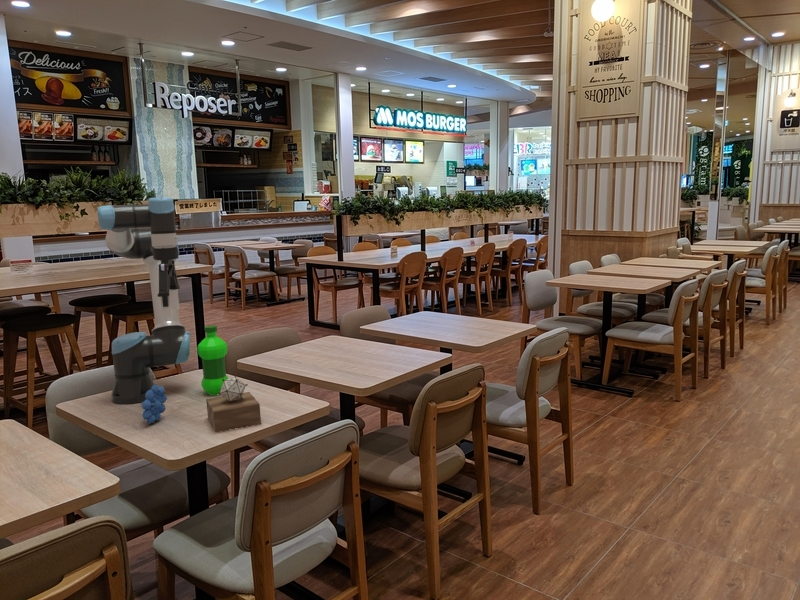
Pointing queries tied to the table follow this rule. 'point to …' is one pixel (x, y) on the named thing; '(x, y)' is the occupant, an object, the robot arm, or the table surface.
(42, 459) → the table surface
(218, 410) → the walnut block
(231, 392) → the white wireframe polyhedron
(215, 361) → the plastic bottle
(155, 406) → the grapes
